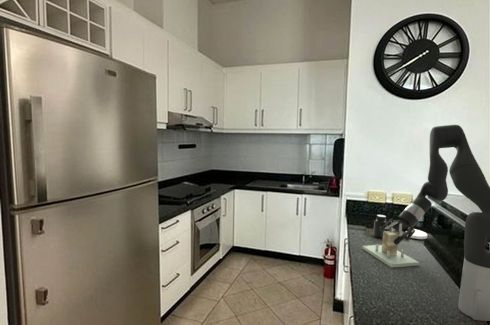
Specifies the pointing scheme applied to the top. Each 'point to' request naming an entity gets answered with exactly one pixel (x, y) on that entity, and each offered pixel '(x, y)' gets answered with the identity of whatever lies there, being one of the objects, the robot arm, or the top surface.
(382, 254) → the peg board
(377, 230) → the supplement bottle
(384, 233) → the ash block
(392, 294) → the top surface
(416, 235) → the plastic lid
